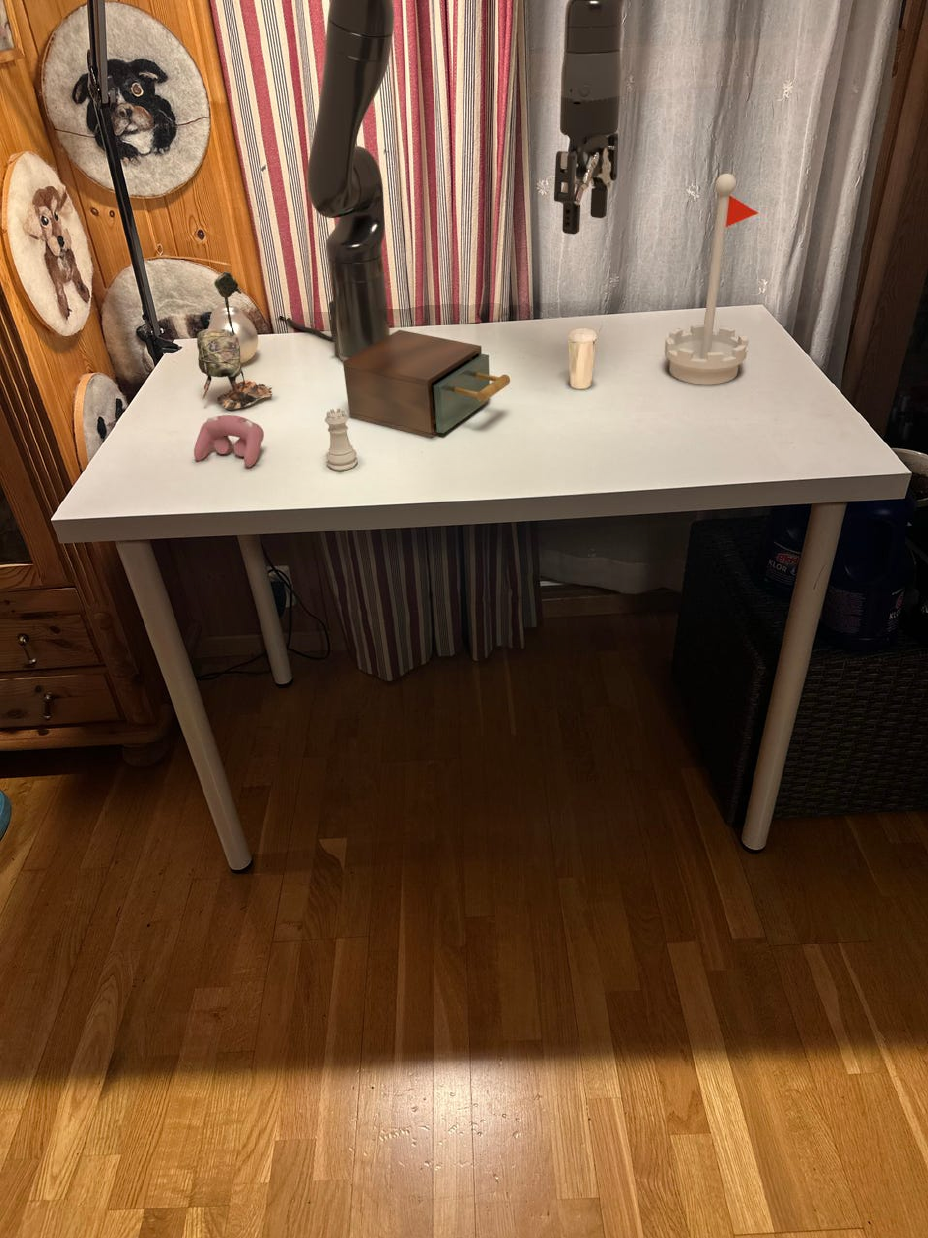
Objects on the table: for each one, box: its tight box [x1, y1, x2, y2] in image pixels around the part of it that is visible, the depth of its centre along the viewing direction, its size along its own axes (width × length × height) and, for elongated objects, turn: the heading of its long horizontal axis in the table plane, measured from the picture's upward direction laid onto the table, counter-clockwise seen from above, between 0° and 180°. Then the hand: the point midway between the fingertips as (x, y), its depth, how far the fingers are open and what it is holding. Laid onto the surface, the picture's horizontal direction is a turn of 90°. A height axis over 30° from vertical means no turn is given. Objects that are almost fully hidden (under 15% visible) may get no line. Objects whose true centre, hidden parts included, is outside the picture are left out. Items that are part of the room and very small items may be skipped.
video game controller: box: [193, 414, 265, 468], centre depth 134 cm, size 10×5×7 cm, turn 71°
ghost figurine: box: [207, 303, 259, 365], centre depth 161 cm, size 9×10×10 cm
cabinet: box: [342, 329, 483, 439], centre depth 143 cm, size 16×15×9 cm
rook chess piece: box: [324, 408, 359, 472], centre depth 130 cm, size 4×4×8 cm
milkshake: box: [567, 325, 603, 390], centre depth 147 cm, size 4×5×10 cm
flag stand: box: [664, 173, 759, 386], centre depth 143 cm, size 13×13×30 cm
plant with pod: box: [194, 270, 273, 411], centre depth 145 cm, size 8×11×20 cm
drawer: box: [431, 353, 511, 434], centre depth 141 cm, size 20×13×7 cm, turn 57°
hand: (584, 225), depth 127 cm, fingers open, 8 cm apart
